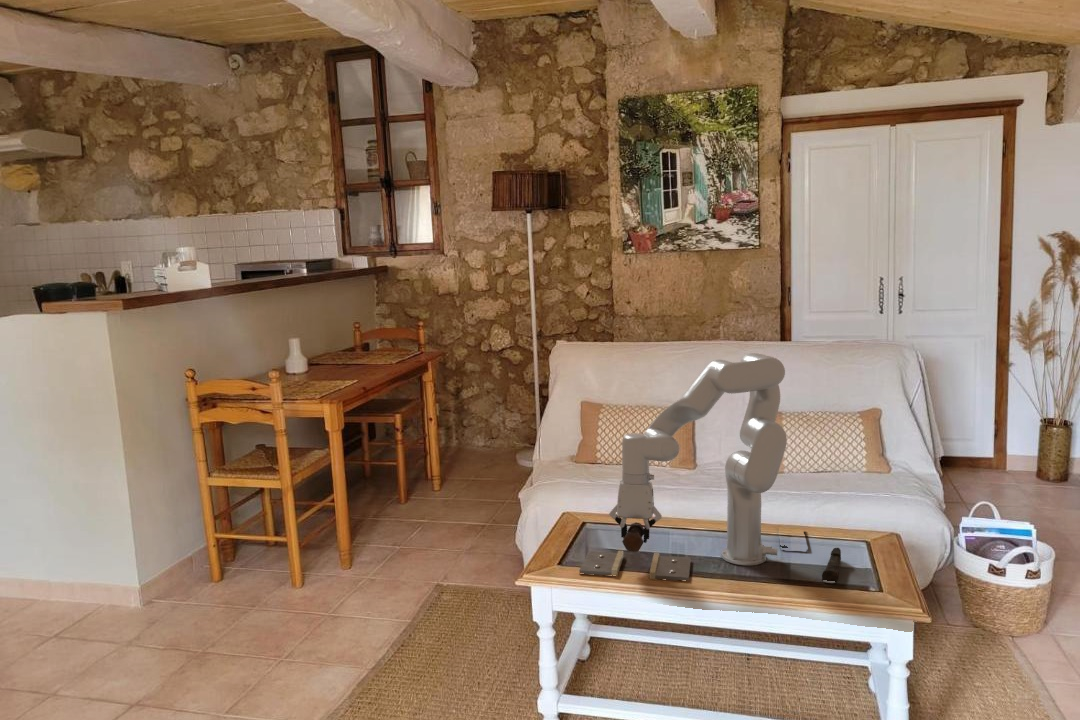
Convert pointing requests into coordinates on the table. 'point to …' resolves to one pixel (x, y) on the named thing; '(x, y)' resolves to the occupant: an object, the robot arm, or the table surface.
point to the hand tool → (833, 566)
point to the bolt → (634, 537)
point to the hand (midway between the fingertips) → (635, 539)
